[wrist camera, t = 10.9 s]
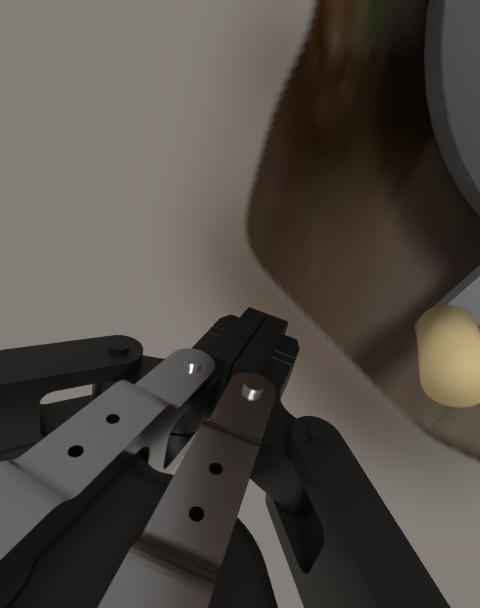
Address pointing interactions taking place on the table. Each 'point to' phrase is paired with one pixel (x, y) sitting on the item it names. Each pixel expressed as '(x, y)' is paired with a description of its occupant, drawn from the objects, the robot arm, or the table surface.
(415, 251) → the table surface
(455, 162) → the turntable base
